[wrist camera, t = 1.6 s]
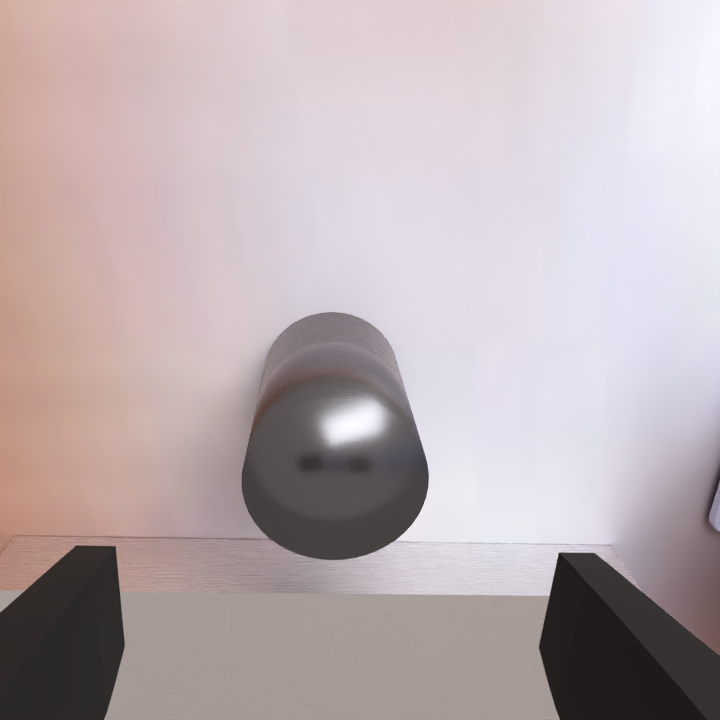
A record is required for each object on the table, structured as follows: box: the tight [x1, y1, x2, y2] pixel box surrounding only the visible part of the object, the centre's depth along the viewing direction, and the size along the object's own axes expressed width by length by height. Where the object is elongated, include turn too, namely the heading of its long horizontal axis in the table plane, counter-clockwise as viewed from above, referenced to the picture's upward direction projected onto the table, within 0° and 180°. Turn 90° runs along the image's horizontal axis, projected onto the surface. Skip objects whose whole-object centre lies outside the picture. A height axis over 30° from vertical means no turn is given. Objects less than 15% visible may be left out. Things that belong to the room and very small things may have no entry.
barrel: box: [242, 312, 429, 560], centre depth 16 cm, size 4×4×6 cm
